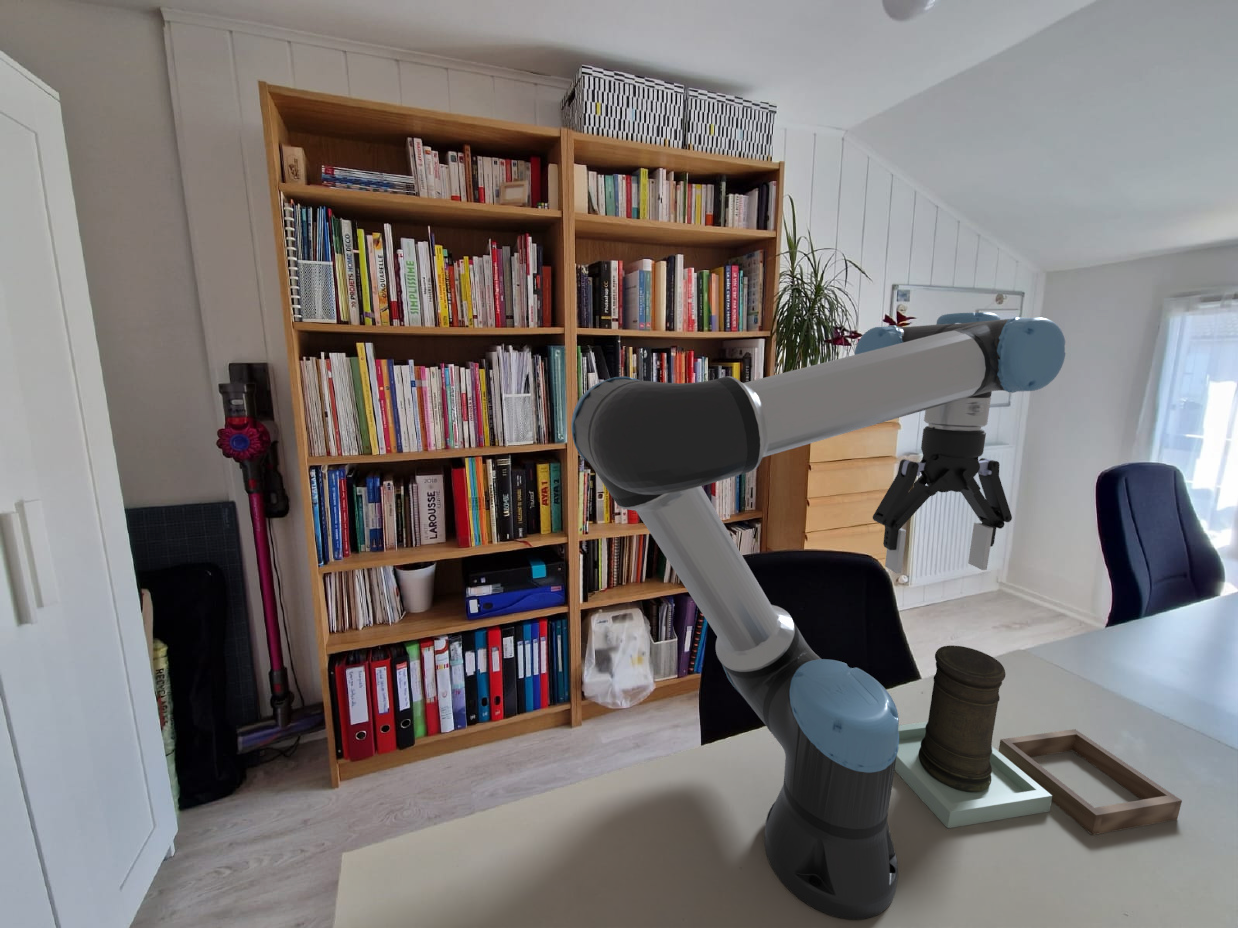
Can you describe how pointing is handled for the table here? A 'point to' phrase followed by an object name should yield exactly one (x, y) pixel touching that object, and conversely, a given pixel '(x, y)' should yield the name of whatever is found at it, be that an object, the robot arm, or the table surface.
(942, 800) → the tray
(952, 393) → the robot arm
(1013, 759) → the wooden picture frame
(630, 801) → the table surface
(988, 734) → the container
